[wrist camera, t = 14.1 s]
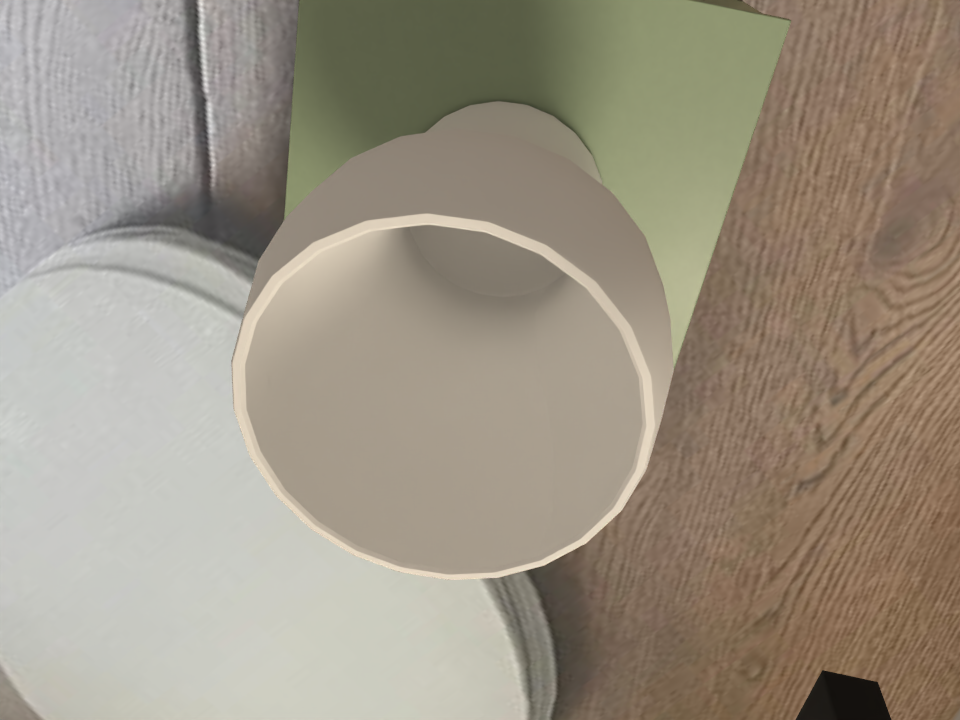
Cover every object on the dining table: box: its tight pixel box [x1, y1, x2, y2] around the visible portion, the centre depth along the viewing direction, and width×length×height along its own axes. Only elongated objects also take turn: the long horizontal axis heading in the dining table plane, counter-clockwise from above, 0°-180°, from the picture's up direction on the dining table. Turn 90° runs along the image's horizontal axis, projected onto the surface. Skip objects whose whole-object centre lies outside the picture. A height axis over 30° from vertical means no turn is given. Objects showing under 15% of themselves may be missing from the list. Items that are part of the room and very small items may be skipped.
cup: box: [231, 101, 674, 580], centre depth 25 cm, size 11×11×15 cm
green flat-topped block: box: [284, 0, 791, 371], centre depth 35 cm, size 16×16×8 cm
